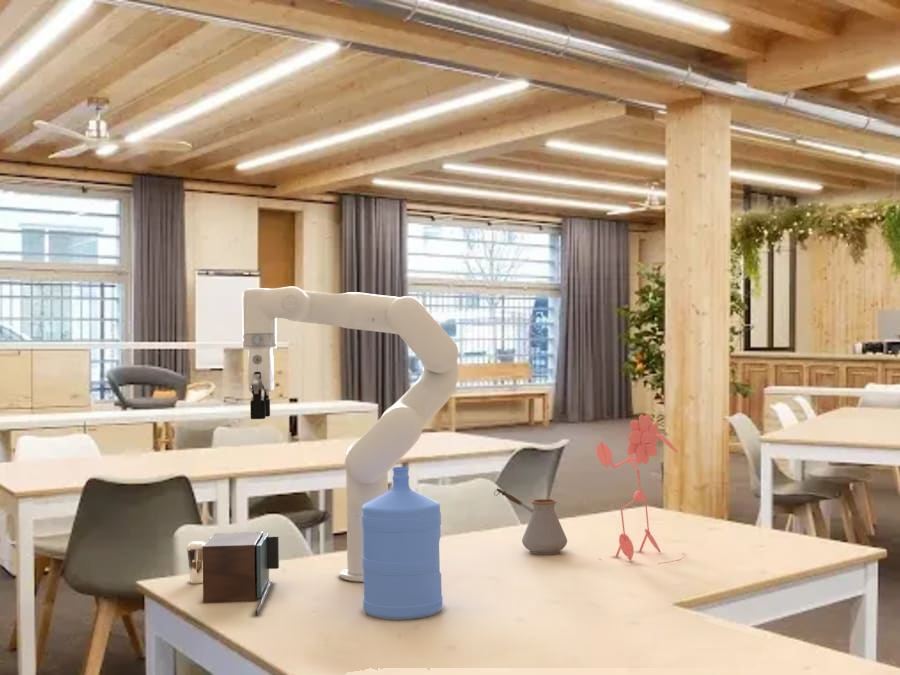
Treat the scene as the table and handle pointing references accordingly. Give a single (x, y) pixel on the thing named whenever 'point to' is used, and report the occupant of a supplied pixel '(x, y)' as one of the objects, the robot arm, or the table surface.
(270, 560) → the glass door
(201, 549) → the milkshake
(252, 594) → the cabinet
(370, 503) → the water jug
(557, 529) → the coffee pot
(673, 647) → the table surface
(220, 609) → the table surface
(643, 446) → the figurine
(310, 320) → the robot arm
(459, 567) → the table surface
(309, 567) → the table surface
